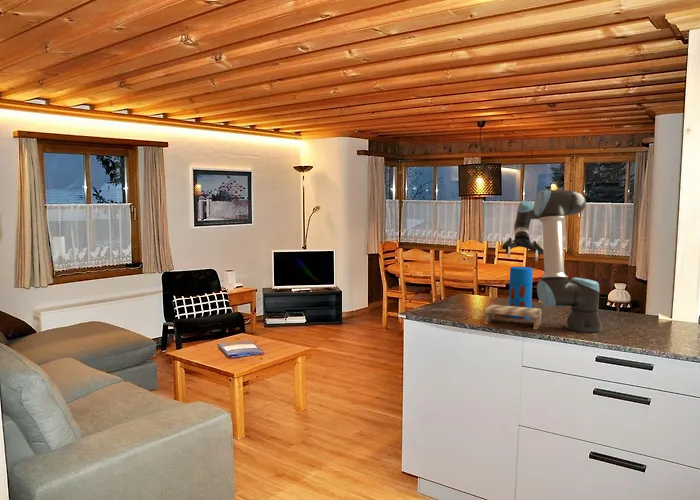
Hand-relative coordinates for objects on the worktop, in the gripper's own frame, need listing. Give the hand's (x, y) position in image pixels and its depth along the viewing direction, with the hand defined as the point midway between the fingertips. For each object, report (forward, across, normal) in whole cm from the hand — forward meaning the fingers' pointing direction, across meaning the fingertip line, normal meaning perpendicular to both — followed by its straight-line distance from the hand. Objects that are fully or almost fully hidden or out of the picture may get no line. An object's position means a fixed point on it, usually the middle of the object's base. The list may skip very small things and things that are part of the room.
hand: (522, 257), depth 278 cm
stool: (+28, +2, -21) cm, 35 cm away
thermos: (+13, -3, -28) cm, 31 cm away
